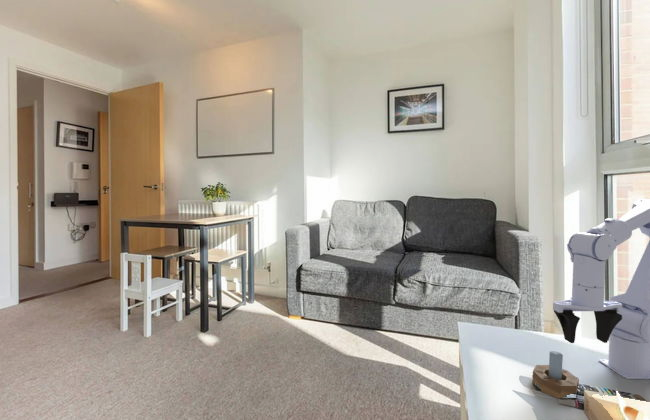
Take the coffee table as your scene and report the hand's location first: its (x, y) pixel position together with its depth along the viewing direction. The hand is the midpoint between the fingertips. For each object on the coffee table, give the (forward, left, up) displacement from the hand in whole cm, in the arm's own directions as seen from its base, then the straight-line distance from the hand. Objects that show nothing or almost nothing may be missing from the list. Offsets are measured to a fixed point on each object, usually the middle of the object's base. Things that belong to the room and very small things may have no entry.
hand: (585, 340), depth 74 cm
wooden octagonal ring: (+9, +3, -9) cm, 13 cm away
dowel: (+9, +3, -9) cm, 13 cm away
